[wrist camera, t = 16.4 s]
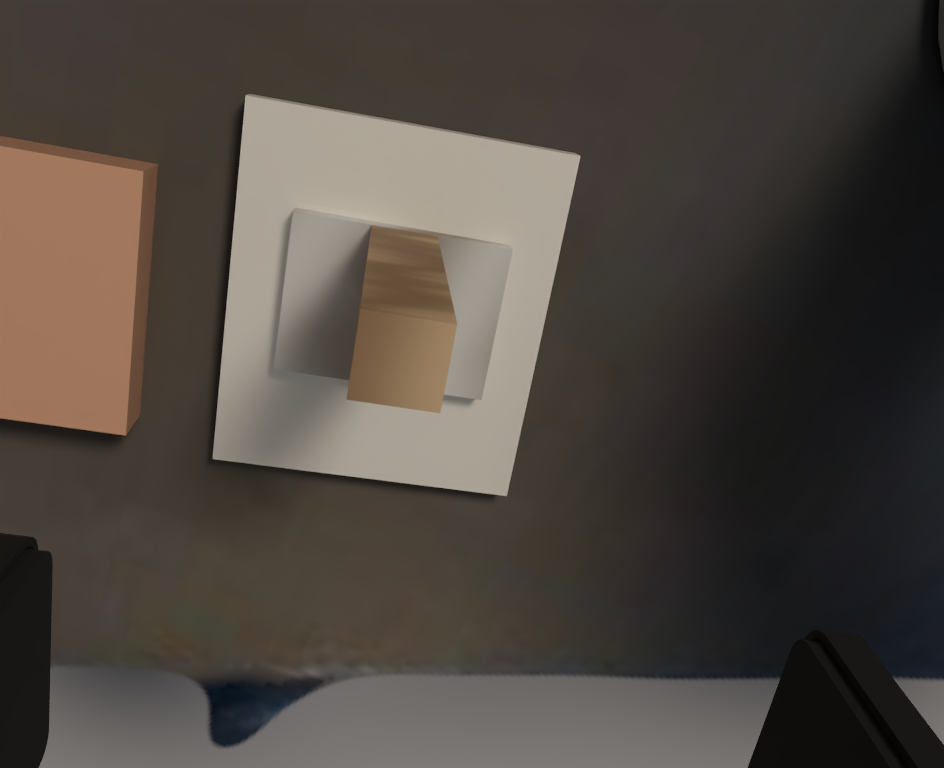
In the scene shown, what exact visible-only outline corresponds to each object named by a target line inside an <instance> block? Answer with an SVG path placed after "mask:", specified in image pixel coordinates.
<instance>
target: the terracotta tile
mask: <svg viewBox="0 0 944 768" xmlns="http://www.w3.org/2000/svg"><path fill="white" fill-rule="evenodd" d="M157 170H158V164H153V163H148V162H142V161H137V160H131V159H126V158H120V157H114V156H109V155H103V154H98V153H92V152H87V151H81V150H75V149H70V148H64V147H59V146H53V145H48V144H42V143H36V142H31V141H25V140H20V139H14V138H9V137H3V136H0V418H2V419H9V420H17V421H24V422H31V423H38V424H46V425H53V426H60V427H67V428H75V429H82V430H89V431H96V432H104V433H111V434H118V435H125V436H126V435H127V433H128V432H129V430H130V429H131V428H132V426H133V425H134V423H135V422H136V420H137V419H138V417H139V416H140V406H141V392H142V378H143V365H144V351H145V337H146V323H147V309H148V295H149V281H150V267H151V253H152V239H153V226H154V212H155V198H156V184H157Z"/></svg>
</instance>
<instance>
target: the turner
mask: <svg viewBox="0 0 944 768" xmlns="http://www.w3.org/2000/svg"><path fill="white" fill-rule="evenodd" d="M512 252H513V249H512V247H511V245H507V244H501V243H495V242H489V241H484V240H478V239H472V238H467V237H461V236H455V235H450V234H444V233H438V232H433V231H427V230H421V229H415V228H410V227H404V226H398V225H393V224H387V223H381V222H376V221H370V220H364V219H358V218H353V217H347V216H341V215H336V214H330V213H324V212H319V211H313V210H307V209H302V208H296V207H295V209H294V210H293V215H292V223H291V231H290V239H289V247H288V255H287V263H286V272H285V280H284V288H283V296H282V304H281V312H280V320H279V329H278V337H277V345H276V353H275V361H274V369H277V370H284V371H290V372H297V373H304V374H310V375H317V376H324V377H330V378H337V379H344V380H349V385H348V392H347V399H346V400H353V401H359V402H366V403H373V404H380V405H387V406H393V407H400V408H407V409H414V410H421V411H427V412H434V413H440V412H441V407H442V402H443V396H444V395H451V396H457V397H464V398H471V399H477V400H482V395H483V391H484V386H485V381H486V376H487V371H488V367H489V362H490V357H491V352H492V348H493V343H494V338H495V333H496V328H497V324H498V319H499V314H500V309H501V304H502V300H503V295H504V290H505V285H506V281H507V276H508V271H509V266H510V261H511V257H512Z"/></svg>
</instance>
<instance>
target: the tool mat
mask: <svg viewBox="0 0 944 768" xmlns="http://www.w3.org/2000/svg"><path fill="white" fill-rule="evenodd" d="M579 161H580V156H579V155H578V154H576V153H572V152H567V151H561V150H556V149H550V148H545V147H539V146H534V145H528V144H523V143H517V142H512V141H506V140H501V139H495V138H490V137H484V136H479V135H473V134H468V133H462V132H457V131H451V130H446V129H440V128H435V127H429V126H424V125H418V124H413V123H407V122H402V121H396V120H391V119H385V118H380V117H374V116H369V115H363V114H358V113H352V112H347V111H341V110H336V109H330V108H325V107H319V106H314V105H308V104H303V103H297V102H292V101H286V100H281V99H275V98H270V97H264V96H259V95H253V94H248V95H246V96H245V107H244V118H243V129H242V140H241V151H240V162H239V173H238V184H237V195H236V206H235V217H234V228H233V239H232V250H231V261H230V272H229V283H228V294H227V305H226V316H225V327H224V338H223V349H222V360H221V371H220V382H219V393H218V404H217V415H216V426H215V437H214V448H213V459H216V460H224V461H232V462H240V463H248V464H256V465H264V466H272V467H280V468H288V469H296V470H303V471H311V472H319V473H327V474H335V475H343V476H351V477H359V478H367V479H375V480H383V481H391V482H399V483H407V484H415V485H423V486H431V487H438V488H446V489H454V490H462V491H470V492H478V493H486V494H494V495H502V496H507V492H508V488H509V483H510V479H511V474H512V469H513V465H514V460H515V456H516V451H517V446H518V442H519V437H520V432H521V428H522V423H523V419H524V414H525V409H526V405H527V400H528V396H529V391H530V386H531V382H532V377H533V373H534V368H535V363H536V359H537V354H538V350H539V345H540V340H541V336H542V331H543V327H544V322H545V317H546V313H547V308H548V303H549V299H550V294H551V290H552V285H553V280H554V276H555V271H556V267H557V262H558V257H559V253H560V248H561V244H562V239H563V234H564V230H565V225H566V221H567V216H568V211H569V207H570V202H571V197H572V193H573V188H574V184H575V179H576V174H577V170H578V165H579ZM295 207H296V208H302V209H307V210H313V211H319V212H324V213H330V214H336V215H341V216H347V217H353V218H358V219H364V220H370V221H376V222H381V223H387V224H393V225H398V226H404V227H410V228H415V229H421V230H427V231H433V232H438V233H444V234H450V235H455V236H461V237H467V238H472V239H478V240H484V241H489V242H495V243H501V244H507V245H511V247H512V249H513V252H512V257H511V261H510V266H509V271H508V276H507V281H506V285H505V290H504V295H503V300H502V304H501V309H500V314H499V319H498V324H497V328H496V333H495V338H494V343H493V348H492V352H491V357H490V362H489V367H488V371H487V376H486V381H485V386H484V391H483V395H482V400H477V399H471V398H464V397H457V396H451V395H444V396H443V402H442V407H441V412H440V413H434V412H427V411H421V410H414V409H407V408H400V407H393V406H387V405H380V404H373V403H366V402H359V401H353V400H346V399H347V392H348V385H349V380H344V379H337V378H330V377H324V376H317V375H310V374H304V373H297V372H290V371H284V370H277V369H274V361H275V353H276V345H277V337H278V329H279V320H280V312H281V304H282V296H283V288H284V280H285V272H286V263H287V255H288V247H289V239H290V231H291V223H292V215H293V210H294V209H295Z"/></svg>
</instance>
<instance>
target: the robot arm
mask: <svg viewBox="0 0 944 768" xmlns="http://www.w3.org/2000/svg"><path fill="white" fill-rule="evenodd" d="M938 40H939V46H940V53H941V60H942V67H943V71H944V0H939V23H938ZM51 607H52V556H51V553H50V552H49V551H41V550H38V545H37V542H36V539H35V538H33V537H29V536H20V535H12V534H3V533H0V768H38V767H39V765H40V763H41V761H42V758H43V755H44V752H45V749H46V745H47V740H48V733H49V699H50V696H49V695H50V653H51ZM748 768H944V745H943V744H942V742H941V741H940V740H939V738H938V737H937V736H936V734H935V733H934V732H933V730H932V729H931V728H930V726H929V725H928V724H927V723H926V721H925V720H924V719H923V717H922V716H921V715H920V713H919V712H918V711H917V709H916V708H915V707H914V705H913V704H912V703H911V702H910V700H909V699H908V697H907V696H906V695H905V694H904V692H903V691H902V690H901V688H900V687H899V686H898V684H897V683H896V682H895V680H894V679H893V678H892V676H891V675H890V674H889V672H888V671H887V670H886V669H885V667H884V666H883V665H882V663H881V662H880V661H879V659H878V658H877V657H876V655H875V654H874V653H873V651H872V650H871V649H870V647H869V646H868V645H867V643H866V642H865V641H864V640H863V639H862V638H861V637H860V636H857V635H854V634H846V633H838V632H829V631H821V630H814V631H811V632H810V633H809V634H808V635H807V636H806V638H805V640H798V641H796V642H795V643H794V645H793V647H792V649H791V651H790V654H789V657H788V660H787V662H786V665H785V668H784V670H783V673H782V676H781V679H780V681H779V684H778V687H777V690H776V692H775V695H774V698H773V701H772V703H771V706H770V709H769V711H768V714H767V717H766V719H765V722H764V725H763V728H762V730H761V733H760V736H759V739H758V742H757V744H756V747H755V750H754V752H753V755H752V758H751V761H750V763H749V766H748Z"/></svg>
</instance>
